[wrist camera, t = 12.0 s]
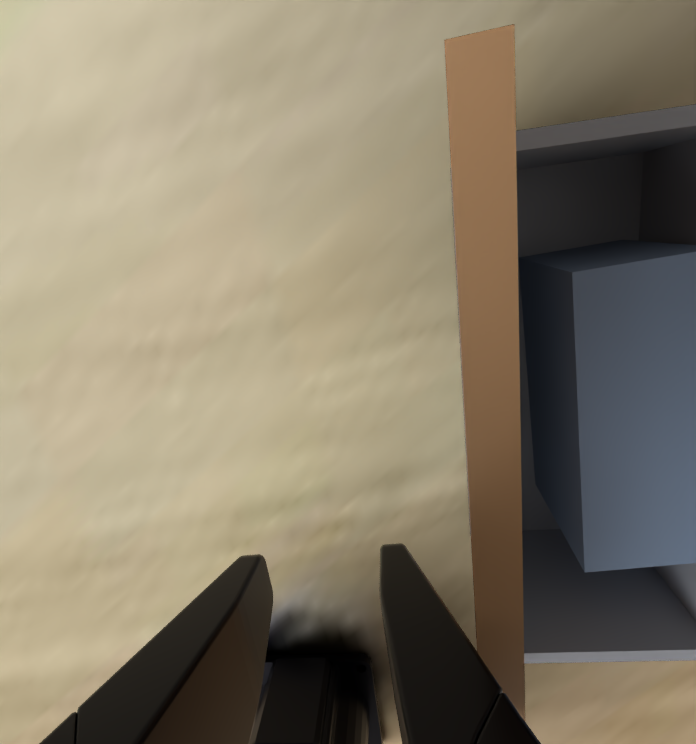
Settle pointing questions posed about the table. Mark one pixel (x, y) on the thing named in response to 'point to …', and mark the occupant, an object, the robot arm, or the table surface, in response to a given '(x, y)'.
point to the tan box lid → (490, 336)
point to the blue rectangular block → (615, 398)
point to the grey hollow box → (535, 236)
